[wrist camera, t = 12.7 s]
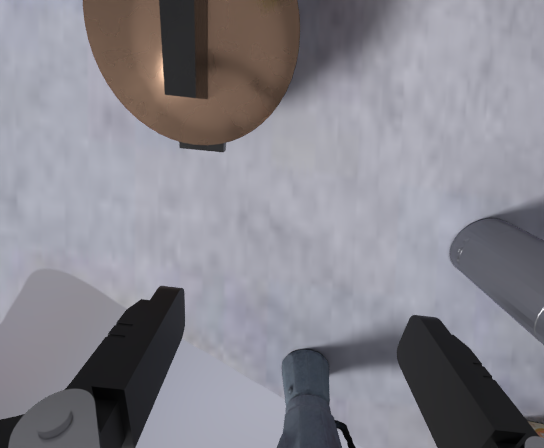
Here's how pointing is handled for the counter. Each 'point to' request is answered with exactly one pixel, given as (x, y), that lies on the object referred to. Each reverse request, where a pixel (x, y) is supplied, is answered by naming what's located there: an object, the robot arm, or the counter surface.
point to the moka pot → (309, 404)
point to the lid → (196, 62)
